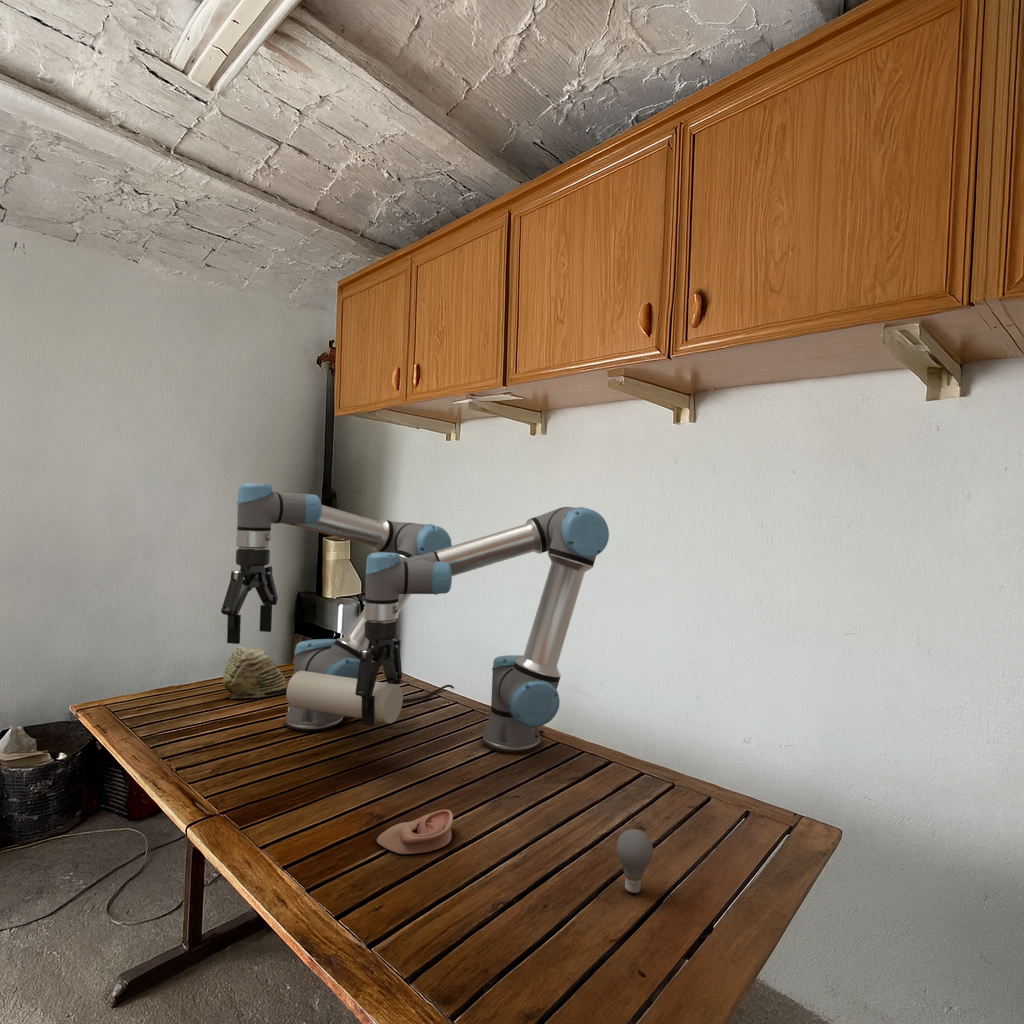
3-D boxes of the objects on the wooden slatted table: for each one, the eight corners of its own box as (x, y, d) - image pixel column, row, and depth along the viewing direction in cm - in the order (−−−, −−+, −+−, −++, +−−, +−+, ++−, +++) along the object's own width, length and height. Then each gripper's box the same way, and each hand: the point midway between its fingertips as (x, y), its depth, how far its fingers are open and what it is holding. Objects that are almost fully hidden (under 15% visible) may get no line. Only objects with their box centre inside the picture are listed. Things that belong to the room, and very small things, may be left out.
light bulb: (610, 879, 108) (613, 822, 108) (644, 879, 109) (647, 822, 109) (619, 902, 102) (622, 840, 102) (655, 901, 103) (658, 840, 103)
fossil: (218, 695, 195) (220, 647, 195) (278, 685, 208) (279, 640, 207) (228, 703, 189) (230, 653, 188) (289, 692, 201) (290, 645, 201)
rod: (285, 711, 149) (286, 675, 149) (309, 701, 157) (310, 666, 157) (382, 728, 140) (384, 690, 140) (402, 716, 148) (403, 680, 148)
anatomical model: (370, 827, 114) (394, 798, 126) (369, 849, 114) (393, 818, 126) (440, 838, 112) (458, 808, 123) (439, 860, 112) (458, 828, 123)
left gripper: (237, 553, 138) (234, 650, 138) (293, 545, 162) (290, 628, 163) (205, 551, 139) (202, 647, 139) (266, 544, 164) (263, 625, 164)
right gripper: (369, 630, 134) (366, 736, 134) (418, 614, 154) (416, 706, 154) (339, 627, 136) (337, 731, 137) (391, 611, 156) (389, 702, 157)
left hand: (250, 637), depth 151 cm, fingers open, 13 cm apart
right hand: (379, 718), depth 145 cm, fingers closed on rod, 9 cm apart
